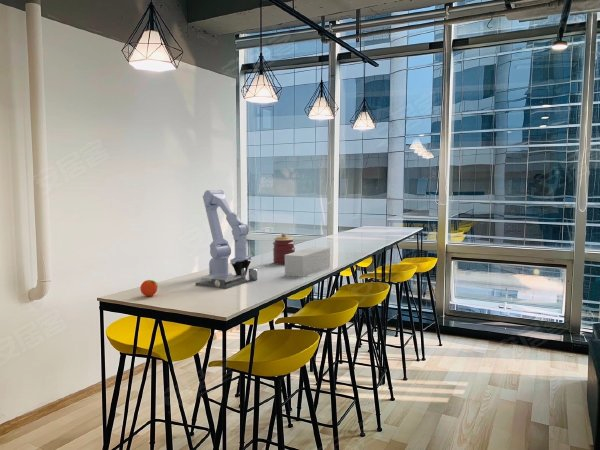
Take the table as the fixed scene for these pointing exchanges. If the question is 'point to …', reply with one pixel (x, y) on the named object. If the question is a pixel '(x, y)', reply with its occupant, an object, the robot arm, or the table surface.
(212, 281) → the scale
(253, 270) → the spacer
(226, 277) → the pan
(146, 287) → the clementine
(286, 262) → the light grey rectangular block
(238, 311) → the table surface
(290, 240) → the canister
